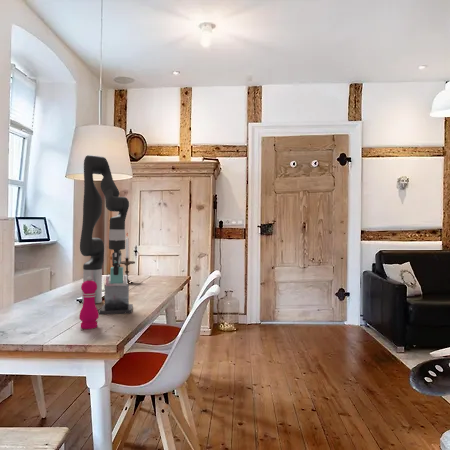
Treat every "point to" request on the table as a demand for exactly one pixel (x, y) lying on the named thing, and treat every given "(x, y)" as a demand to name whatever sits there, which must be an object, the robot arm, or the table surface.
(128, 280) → the candlestick
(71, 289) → the table surface
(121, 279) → the turquoise cube
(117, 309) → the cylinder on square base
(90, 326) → the pepper mill
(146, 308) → the table surface
